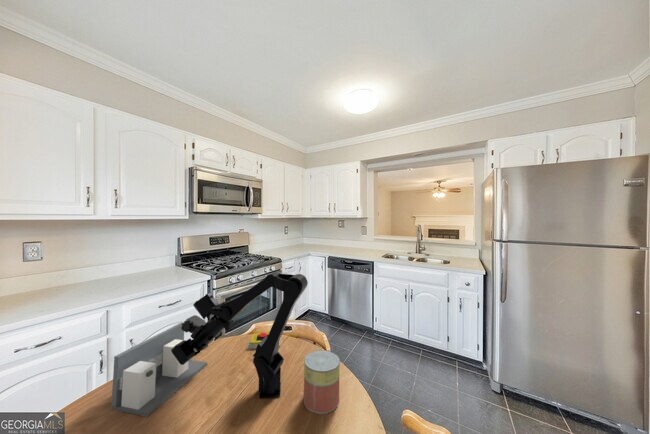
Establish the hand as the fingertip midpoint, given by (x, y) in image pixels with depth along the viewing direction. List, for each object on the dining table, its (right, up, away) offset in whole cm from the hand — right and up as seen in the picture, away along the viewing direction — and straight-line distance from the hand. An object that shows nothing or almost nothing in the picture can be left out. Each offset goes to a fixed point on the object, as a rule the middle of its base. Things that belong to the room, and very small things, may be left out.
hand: (184, 356), depth 81 cm
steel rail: (-8, -1, -3) cm, 8 cm away
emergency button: (+22, -9, +24) cm, 34 cm away
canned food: (+49, -8, -9) cm, 51 cm away
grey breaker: (-5, -5, -13) cm, 15 cm away
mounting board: (-4, -7, -4) cm, 9 cm away
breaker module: (-3, -6, 0) cm, 6 cm away
